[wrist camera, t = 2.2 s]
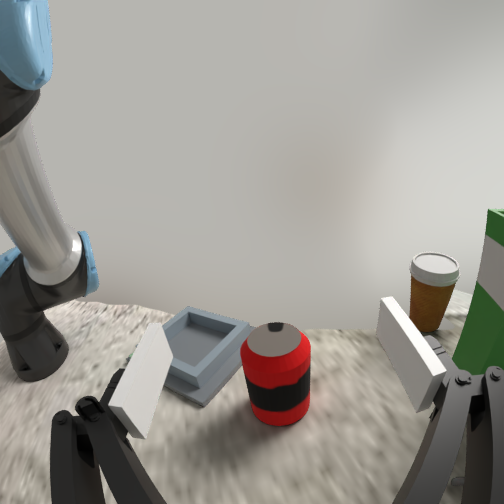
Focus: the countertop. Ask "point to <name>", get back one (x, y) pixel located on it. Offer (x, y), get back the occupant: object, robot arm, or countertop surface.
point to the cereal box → (486, 306)
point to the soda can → (277, 373)
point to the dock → (203, 352)
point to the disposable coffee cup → (431, 288)
